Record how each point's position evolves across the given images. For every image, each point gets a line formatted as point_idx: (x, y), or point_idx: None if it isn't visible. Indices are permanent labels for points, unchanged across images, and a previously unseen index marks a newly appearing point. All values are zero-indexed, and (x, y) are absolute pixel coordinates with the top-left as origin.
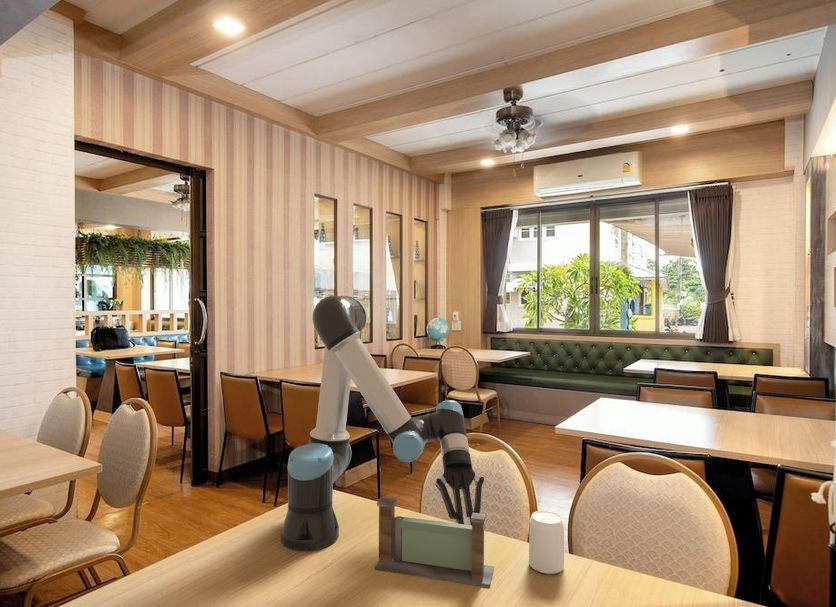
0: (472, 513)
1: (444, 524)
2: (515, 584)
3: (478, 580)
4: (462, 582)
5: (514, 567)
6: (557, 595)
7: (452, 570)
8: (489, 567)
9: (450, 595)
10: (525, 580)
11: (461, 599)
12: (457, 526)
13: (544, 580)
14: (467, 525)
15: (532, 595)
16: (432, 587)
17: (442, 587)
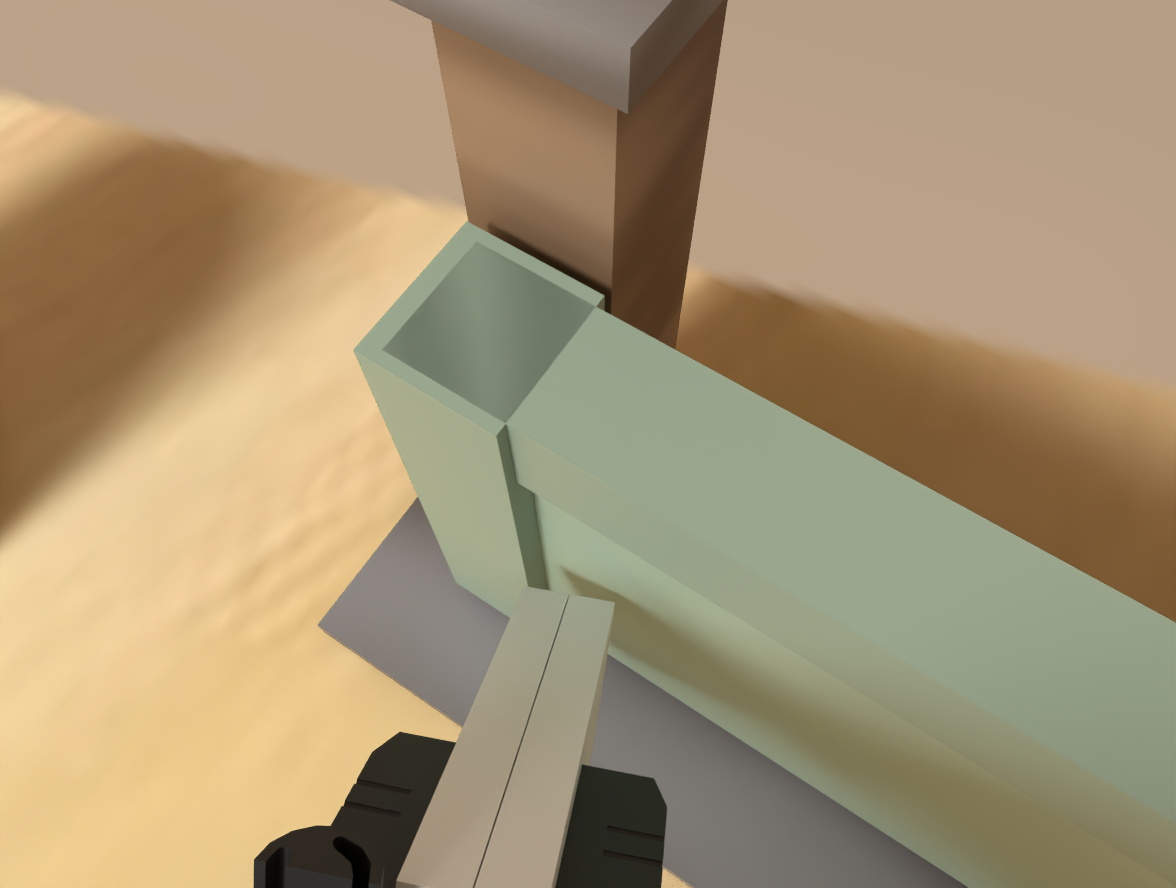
0: (656, 9)
1: (1102, 646)
2: (294, 353)
3: None
4: None
5: (111, 595)
6: (96, 161)
7: None
8: (374, 618)
9: (896, 368)
10: (174, 379)
11: (821, 301)
12: (848, 485)
13: (25, 336)
14: (636, 472)
15: (267, 206)
16: (1032, 513)
17: (939, 488)
